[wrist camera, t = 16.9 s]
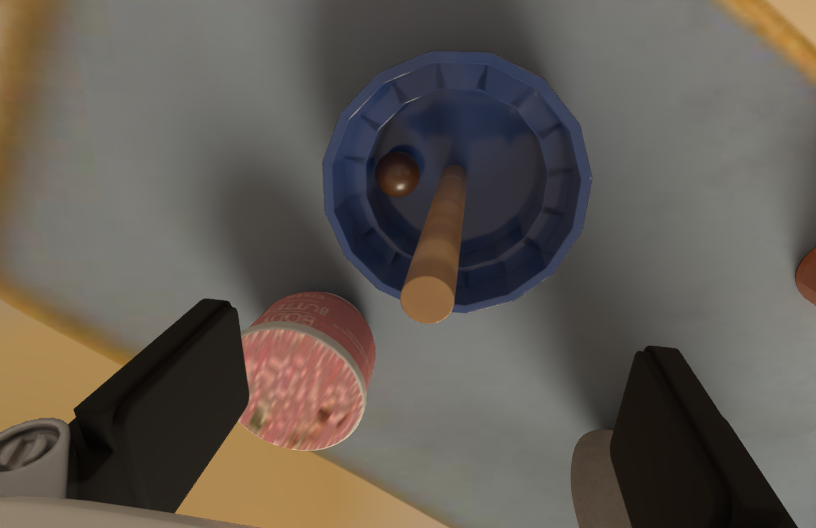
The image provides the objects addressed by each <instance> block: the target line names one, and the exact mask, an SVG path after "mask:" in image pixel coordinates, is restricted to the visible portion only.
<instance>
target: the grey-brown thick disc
mask: <svg viewBox="0 0 816 528" xmlns="http://www.w3.org/2000/svg"><path fill="white" fill-rule="evenodd" d="M612 434H613V431H612V430H594V431H591V432H588V433H586V434H585V435H583V436H582V437H581V438H580V439H579V441H578V443H577V444H576V447H575V449H574V453H573V457H572V464H571V490H572V498H573V503H574V508H575V513H576V517H577V521H578V524H579V528H632V526H631V523H630V520H629V517H628V514H627V510H626V507H625V504H624V501H623V497H622V494H621V491H620V488H619V484H618V481H617V478H616V475H615V471H614V468H613V465H612V462H611V458H610V442H611V438H612Z"/></svg>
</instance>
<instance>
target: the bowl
mask: <svg viewBox="0 0 816 528" xmlns="http://www.w3.org/2000/svg"><path fill="white" fill-rule="evenodd" d="M394 151H401V152H405V153H407V154H409V155H411V156H412V157H413V158H414V159H415V160H416V162H417V163H418V166H419V169H420V180H419V183H418V185H417V187H416V189H415V190H414V191H413V192H412V193H410V194H409V195H407V196H404V197H391V196H389V195H387V194H385V193H384V192H382V191H381V189H380V188H379V187H378V185H377V183H376V180H375V169H376V166H377V164H378V162H379V160H380V159H381V158H382V157H383V156H384V155H386V154H388V153H390V152H394ZM450 165H459V166H461V167H462V168H464V169H465V171H466V173H467V187H466V197H465V206H464V216H463V226H462V235H461V245H460V254H459V264H458V273H457V283H456V293H455V302H454V307H453V310H452V312H458V313H470V312H474V311H478V310H482V309H486V308H489V307H493V306H497V305H501V304H505V303H509V302H512V301H515V300H516V299H518V298H519V297H520V296H522V295H523V294H525V293H526V292H528V291H529V290H531V289H532V288H533V287H535V286H536V285H538V284H539V283H541V282H542V281H544V280H545V279H546V278H548V277H549V276H551V275H552V274H553V273H554V272H555V271H556V269H557V268H558V266H559V265H560V263H561V262H562V260H563V259H564V257H565V256H566V254H567V253H568V251H569V250H570V248H571V247H572V245H573V244H574V242H575V241H576V239H577V238H578V236H579V235H580V233H581V232H582V229H583V224H584V219H585V214H586V209H587V204H588V199H589V193H590V188H591V183H592V174H591V170H590V166H589V161H588V157H587V153H586V148H585V144H584V140H583V136H582V131H581V127H580V124H579V122H578V121H577V120H576V119H575V117H574V116H573V115H572V114H571V112H570V111H569V110H568V108H567V107H566V106H565V105H564V103H563V102H562V101H561V100H560V98H559V97H558V96H557V94H556V93H555V92H554V91H553V89H552V88H551V87H550V86H549V84H548V83H547V82H546V80H545V79H543V78H542V77H540V76H538V75H536V74H534V73H532V72H530V71H528V70H526V69H524V68H522V67H520V66H518V65H516V64H514V63H512V62H510V61H508V60H506V59H504V58H502V57H500V56H498V55H496V54H494V53H491V52H473V51H440V50H433V51H429V52H426V53H424V54H422V55H419V56H417V57H414V58H412V59H410V60H407V61H405V62H402V63H400V64H398V65H395V66H393V67H391V68H388V69H386V70H383V71H381V72H379V73H377V75H376V76H375V77H374V78H373V79H372V80H371V81H370V82H369V83H368V84H367V85H366V86H365V87H364V88H363V89H362V90H361V92H360V93H359V94H358V95H357V96H356V97H355V98H354V99H353V100H352V101H351V102H350V103H349V104H348V105H347V106H346V107H345V109H344V110H343V111H342V112H341V113H340V115H339V118H338V121H337V124H336V126H335V129H334V132H333V135H332V137H331V140H330V143H329V146H328V148H327V151H326V154H325V157H324V159H323V185H324V207H325V214H326V216H327V218H328V220H329V223H330V225H331V227H332V229H333V231H334V234H335V236H336V238H337V240H338V243H339V245H340V247H341V249H342V251H343V254H344V255H345V257H346V258H347V259H348V260H349V261H350V262H351V263H352V264H353V265H354V266H355V267H356V268H357V269H358V270H359V271H360V272H361V273H362V274H363V275H364V276H365V277H366V278H367V279H368V280H369V281H370V282H371V283H372V284H373V285H374V286H375V287H376V288H377V289H378V290H381V291H383V292H385V293H387V294H389V295H391V296H393V297H395V298H398V299H400V295H401V291H402V288H403V285H404V282H405V279H406V276H407V273H408V270H409V267H410V264H411V261H412V259H413V256H414V253H415V250H416V247H417V244H418V241H419V238H420V235H421V232H422V229H423V227H424V224H425V221H426V218H427V215H428V212H429V209H430V206H431V203H432V200H433V197H434V195H435V192H436V189H437V186H438V183H439V180H440V177H441V174H442V172H443V170H444V169H445V168H446V167H448V166H450Z"/></svg>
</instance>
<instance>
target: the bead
mask: <svg viewBox="0 0 816 528" xmlns="http://www.w3.org/2000/svg"><path fill="white" fill-rule="evenodd" d="M375 180H376V183H377V185H378V187H379V188H380V189H381V191H382V192H384V193H385V194H387V195H389V196H391V197H404V196H407V195H409V194H410V193H412V192H413V191H414V190H415V189H416V187H417V185H418V183H419V180H420V169H419V166H418V163H417V162H416V160H415V159H414V158H413V157H412V156H411V155H409V154H407V153H405V152H401V151H394V152H390V153H388V154H386V155H384V156H383V157H382V158H381V159H380V160H379V162H378V164H377V166H376V169H375Z"/></svg>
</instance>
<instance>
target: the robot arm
mask: <svg viewBox="0 0 816 528" xmlns="http://www.w3.org/2000/svg"><path fill="white" fill-rule="evenodd" d="M248 402H249V387H248V380H247V373H246V366H245V360H244V353H243V346H242V339H241V332H240V325H239V318H238V312H237V310H236V308H234V307H232V306H231V304H230V302H228V301H225V300H215V299H203V300H201V301H200V302H199V303H197V304H196V305H195V306H194V307H193V308H192V309H190V310H189V311H188V312H187V313H186V314H185V315H183V316H182V317H181V318H180V319H179V320H177V321H176V322H175V323H174V324H173V325H172V326H170V327H169V328H168V329H167V330H166V331H165V332H163V333H162V334H161V335H160V336H159V337H158V338H156V339H155V340H154V341H153V342H152V343H151V344H149V345H148V346H147V347H146V348H145V349H143V350H142V351H141V352H140V353H139V354H138V355H136V356H135V357H134V358H133V359H132V360H131V361H129V362H128V363H127V364H126V365H125V366H124V367H122V368H121V369H120V370H119V371H118V372H117V373H115V374H114V375H113V376H112V377H111V378H110V379H108V380H107V381H106V382H105V383H104V384H102V385H101V386H100V387H99V388H98V389H97V390H96V391H94V392H93V393H92V394H91V395H90V396H88V397H87V398H86V399H85V400H84V401H82V402H81V403H80V404H79V405H78V406H77V407H75V408H74V412H75V415H76V418H75V419H74V420H73V421H71V422H70V423H69V424H67V423H66V422H64V421H63V420H60V419H56V418H39V419H35V420H30V421H26V422H23V423H20V424H17V425H15V426H12V427H10V428H8V429H6V430H4V431H2V432H0V528H258V527H252V526H245V525H240V524H233V523H228V522H222V521H216V520H210V519H204V518H198V517H192V516H186V515H180V514H174V513H175V512H176V510H177V509H178V507H179V506H180V505H181V503H182V502H183V500H184V499H185V497H186V496H187V494H188V493H189V491H190V490H191V488H192V487H193V485H194V484H195V483H196V481H197V479H198V478H199V477H200V475H201V474H202V472H203V471H204V469H205V468H206V467H207V465H208V464H209V462H210V461H211V459H212V458H213V456H214V455H215V453H216V452H217V450H218V449H219V448H220V446H221V445H222V443H223V442H224V440H225V439H226V437H227V436H228V434H229V433H230V431H231V430H232V429H233V427H234V425H235V424H236V423H237V421H238V420H239V418H240V417H241V415H242V414H243V412H244V411H245V409H246V408H247V405H248ZM610 458H611V462H612V465H613V468H614V471H615V475H616V478H617V481H618V484H619V488H620V491H621V494H622V497H623V501H624V504H625V507H626V510H627V514H628V517H629V520H630V523H631V526H632V528H798V527H797V526H796V524H795V523H794V521H793V519H792V518H791V516H790V515H789V513H788V512H787V510H786V509H785V507H784V506H783V504H782V503H781V501H780V500H779V498H778V497H777V495H776V494H775V492H774V491H773V489H772V488H771V486H770V485H769V483H768V482H767V480H766V479H765V477H764V476H763V474H762V473H761V471H760V470H759V468H758V467H757V465H756V464H755V462H754V460H753V459H752V457H751V456H750V454H749V453H748V451H747V450H746V448H745V447H744V445H743V444H742V442H741V441H740V439H739V438H738V436H737V435H736V433H735V432H734V430H733V429H732V427H731V426H730V424H729V423H728V422H727V420H726V419H725V418H724V417H722V415H721V414H720V412H719V411H718V409H717V408H716V406H715V404H714V403H713V401H712V400H711V398H710V397H709V395H708V394H707V392H706V391H705V389H704V388H703V386H702V385H701V383H700V382H699V380H698V379H697V377H696V375H695V374H694V372H693V371H692V369H691V368H690V366H689V365H688V363H687V362H686V360H685V359H684V357H683V356H682V354H681V353H680V351H679V350H678V349H676V348H668V347H659V346H647V347H646V348H645V349H644V351H638V352H636V354H635V356H634V360H633V363H632V367H631V370H630V374H629V377H628V381H627V385H626V388H625V392H624V395H623V399H622V402H621V406H620V409H619V413H618V417H617V420H616V424H615V427H614V431H613V434H612V438H611V442H610Z"/></svg>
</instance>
